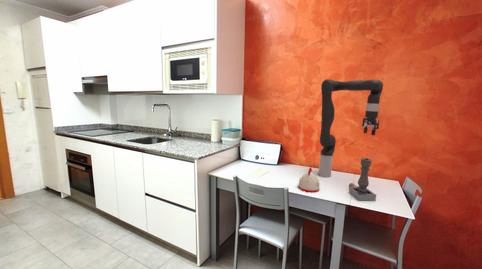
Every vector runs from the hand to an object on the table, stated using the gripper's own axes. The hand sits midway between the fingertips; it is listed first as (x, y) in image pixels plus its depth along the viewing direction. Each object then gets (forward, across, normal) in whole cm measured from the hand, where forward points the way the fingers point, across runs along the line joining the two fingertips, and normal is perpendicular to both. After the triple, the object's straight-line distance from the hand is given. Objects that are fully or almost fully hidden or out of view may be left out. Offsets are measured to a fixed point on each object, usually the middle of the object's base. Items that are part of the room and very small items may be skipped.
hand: (368, 134), depth 152 cm
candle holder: (+38, -16, +10) cm, 43 cm away
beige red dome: (+38, -3, +40) cm, 56 cm away
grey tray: (+38, -13, +10) cm, 42 cm away
